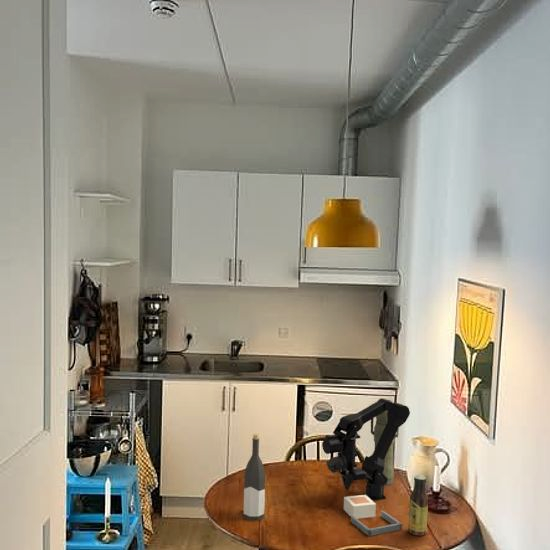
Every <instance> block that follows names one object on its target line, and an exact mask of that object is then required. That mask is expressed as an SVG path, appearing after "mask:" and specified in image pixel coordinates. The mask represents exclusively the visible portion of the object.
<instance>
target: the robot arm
mask: <svg viewBox="0 0 550 550" xmlns="http://www.w3.org/2000/svg"><path fill="white" fill-rule="evenodd" d="M389 400H390V399H387V400H386V399H385V398H382V397H381V398H379V399H378V400H377V401H376V402H374V403H372V404H370V405H368V406H367V407H365V408H364V409H362V410H360V411H358V412H356V413H349V414H347V415H344V416H342V417H341V418H339V422H338V424H337V426H336V427H335V428H334V430H333V432H332V434H326V435H325V438H324V439H323V441H322V442H321V447H322V450H323V452H324V454H327V455H329V454H330V455H331V454H335V453H337V455H336V456H331V458H330V459H327V461H326V466H327V469H328V470H329V471H330V472H331V473H333V474H334V473H338V474H340V477H341V478H342V482H343V487H344V489H345V491H349V490H350V488H351V486H352V484H353V482H355V481H361V480H366V485H365V492H363V495H366V496H368V497H369V498H370V499H371V500H372V501H377V500H383V499H386V498H387V496H385V494H384V492H385V486H384V484H387V481H388V478H387V477H386V476H385V475H384V474H383V471H384V459H385V457H386V454H387V452H388V450H389V448H390V446H391V443H392V441H393V439H394V437H395V434H397V430H398V428H399V429H400V427H401V426H402V425H404V424H405V423H406V422H407V420H408V419H409V417H410V413H411V411H410V408H409V407H408V406H407V405H405V404H402V403H398V402H393V401H392V402H393V403H392V402H390V401H389ZM386 410H387V411H388V412H387V424H386V426H385V428H384V430H383V432H382V435H381V437H380V439H379V441H378V443H377V446H376V448H375V447H374V451H373V452H372V454H371V455H370V456H367V455H366V456H365V457H364V459H363V462H362V463H361V468H360V467H359V468H356V467H358V463H356V458H357V457H358V453H357V452H356V440H357V439H360V438H361V435H360V434H358V432H360V430H361V429H363V426H364V425H365V424H367V423H368V422H369V421H370V422H371V419H373V418H374V419H376V416H378V415H380V414H381V413H383V412H385V411H386Z"/></svg>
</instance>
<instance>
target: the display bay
mask: <svg viewBox="0 0 550 550" xmlns="http://www.w3.org/2000/svg"><path fill="white" fill-rule="evenodd" d="M380 517H381V518H383V519H384V520H385V521H387V522H388V523H390V524H387V525H383V526H378V527H377V526H376V527H372V528H369V527H368V526H367V525H366V524H364V523H363V522H362V521H360V520H359V519H356V518H355V517H354V516H351V517H350V523H351V522H352V524H353V525H354V526H355V527H357V529H358V530H360V531H361V532H363V533H364V534H365V535H367V537H371V536H375V535H381V534H387V533H391V532H396V531H402V530H403V523H402V522H400V521H399V520H397V519H396V518H395V517H393V516H391V514H389V513H387V512H386V511H385V510H380Z"/></svg>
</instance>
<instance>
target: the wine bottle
mask: <svg viewBox="0 0 550 550" xmlns="http://www.w3.org/2000/svg"><path fill="white" fill-rule="evenodd" d="M259 436H260V435H259V434H258V433H254V434H253V436H252V446H251V447H252V451H251V452H252V454H251V456H250V459H249V460H248V462H247V464H246V466H245V471H244V481H243V486H244V487H243V489H244V490H243V519H245V520H248V521H252V522H253V521H254V520H258V521H260V520H262V519H264V518H265V504H266V503H265V502H266V501H265V499H266V498H265V497H266V494H265V493H266V472H265V466H264V463H263V461H262V459H261V457H260V455H259V453H260V452H259V451H260V450H259V449H260V437H259ZM263 517H264V518H263ZM261 518H262V519H261ZM259 519H260V520H259Z"/></svg>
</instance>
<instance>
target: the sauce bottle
mask: <svg viewBox="0 0 550 550" xmlns="http://www.w3.org/2000/svg"><path fill="white" fill-rule="evenodd" d="M413 477H414V478H413V480H414V482H413V483H414V484H413V489H412V492H411V495H410V496H409V504H408V505H409V506H408V532H409V533H410V534H412V535H414V536H425V535H426V532H427V529H428V528H427V526H428V525H427V523H428V511H429V510H428V509H429V508H428V507H429V505H428V503H429V502H428V501H429V496H428V494H427V492H426V483H427V476H425V475H422V474H416V475H414V476H413Z"/></svg>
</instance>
